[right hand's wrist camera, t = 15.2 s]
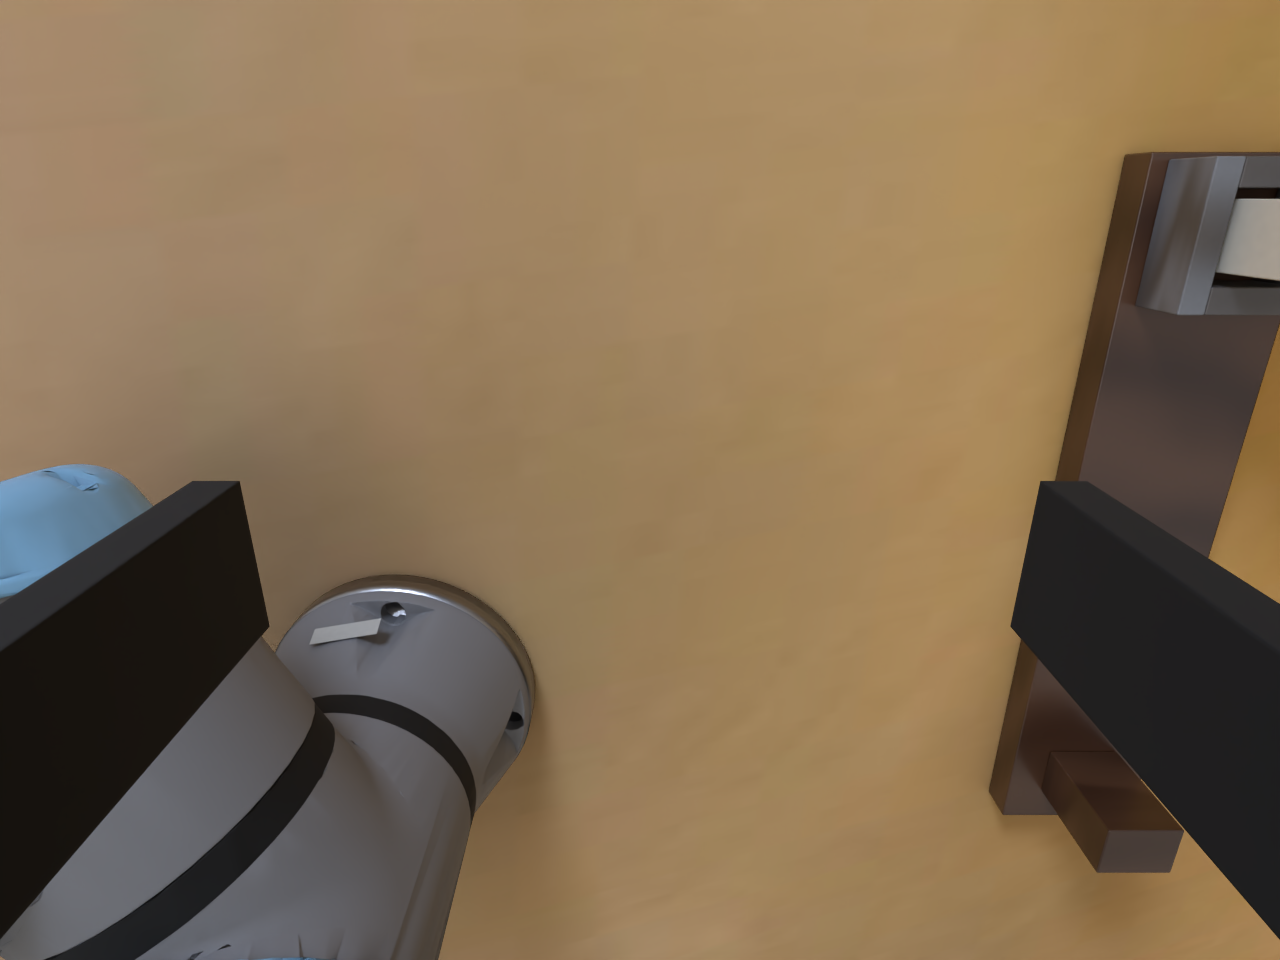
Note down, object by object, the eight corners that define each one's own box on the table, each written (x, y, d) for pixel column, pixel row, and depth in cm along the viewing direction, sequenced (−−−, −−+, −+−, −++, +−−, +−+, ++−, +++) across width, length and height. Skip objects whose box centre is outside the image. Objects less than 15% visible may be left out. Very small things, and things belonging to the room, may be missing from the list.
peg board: (1111, 791, 48) (1197, 900, 41) (988, 791, 48) (1052, 900, 41) (1295, 154, 35) (1475, 142, 27) (1124, 154, 35) (1257, 143, 27)
